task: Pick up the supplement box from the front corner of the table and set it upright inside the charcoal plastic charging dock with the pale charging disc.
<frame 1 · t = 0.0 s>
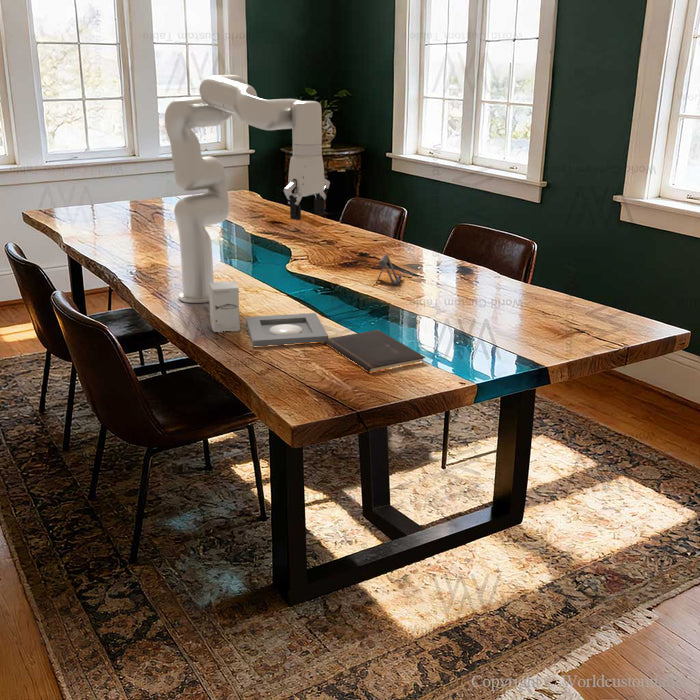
hand: (307, 216, 211), 31 cm above the table, tool pointing down, fingers open, 9 cm apart
supplement box: (225, 329, 221), on the table
hardcover book: (373, 356, 204), on the table
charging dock: (285, 333, 218), on the table
portable electronic device stand: (388, 282, 267), on the table
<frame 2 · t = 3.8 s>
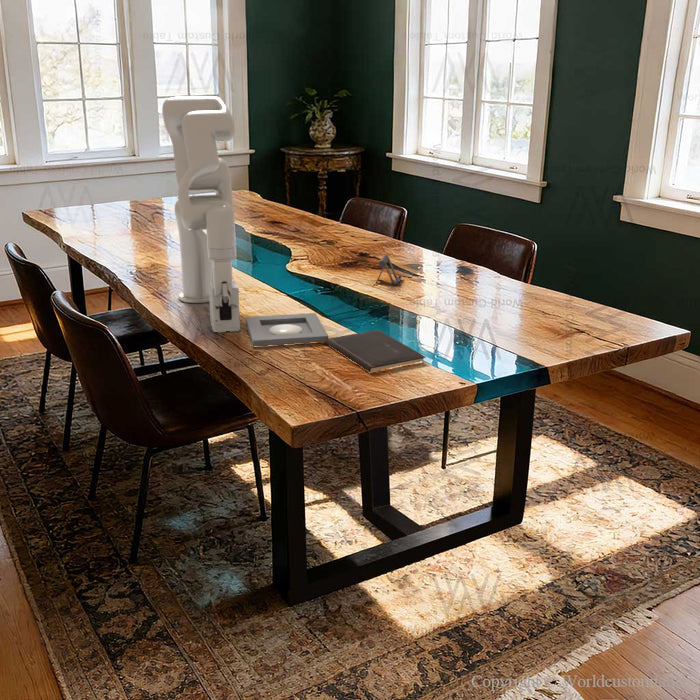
hand: (224, 314, 219), 4 cm above the table, tool pointing down, fingers closed on supplement box, 7 cm apart
supplement box: (225, 329, 221), on the table, touching gripper
everything else where it was.
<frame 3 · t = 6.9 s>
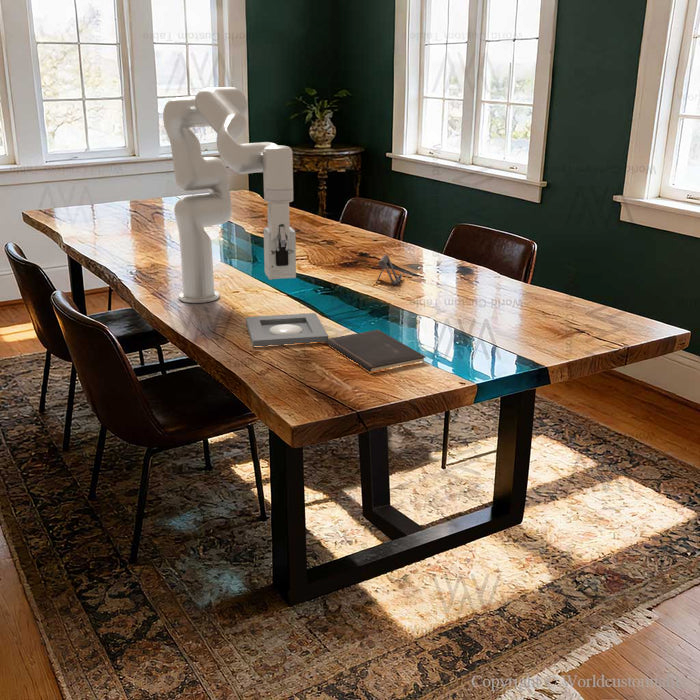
hand: (280, 261, 211), 20 cm above the table, tool pointing down, fingers closed on supplement box, 7 cm apart
supplement box: (280, 276, 212), point 16 cm above the table, touching gripper
everything else where it was.
when the fingers open (7 cm above the table, at t = 10.2 s): supplement box drops 2 cm, resting on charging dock.
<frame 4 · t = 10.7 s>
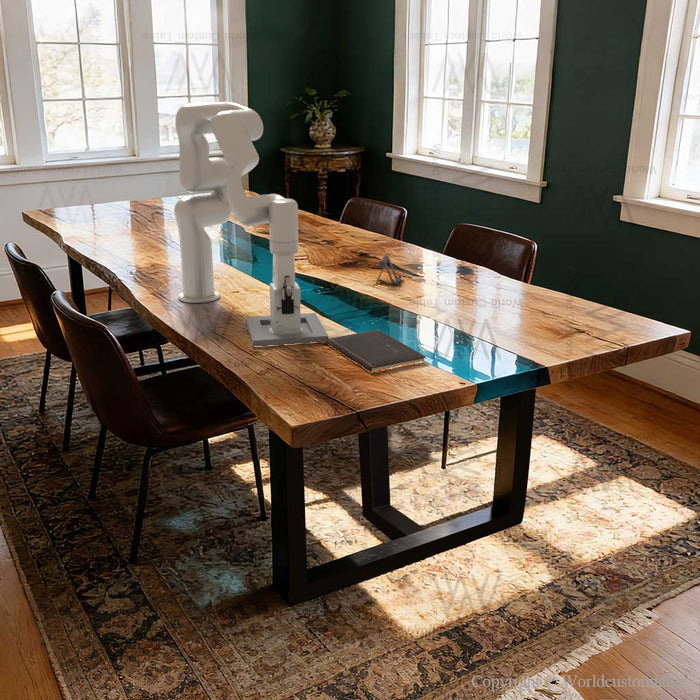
hand: (285, 308, 215), 7 cm above the table, tool pointing down, fingers open, 9 cm apart
supplement box: (285, 330, 217), point 1 cm above the table, touching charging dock
everything else where it was.
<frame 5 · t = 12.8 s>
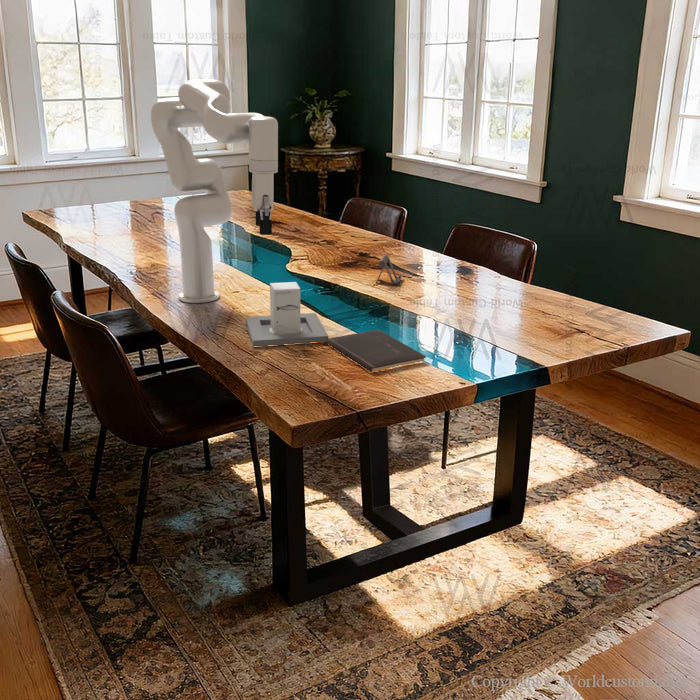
hand: (263, 229, 214), 27 cm above the table, tool pointing down, fingers open, 9 cm apart
nothing on the table moved.
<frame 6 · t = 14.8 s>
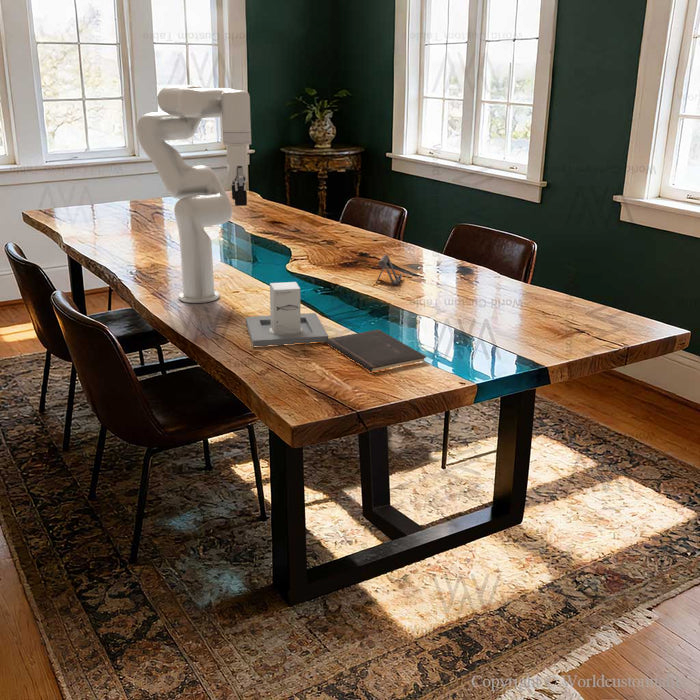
hand: (239, 202, 219), 33 cm above the table, tool pointing down, fingers open, 9 cm apart
nothing on the table moved.
at the end: supplement box inside the target area on the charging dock (0.1 cm from its centre), point 0.8 cm above the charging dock's base; supplement box tilted 0°; the gripper is holding nothing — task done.
